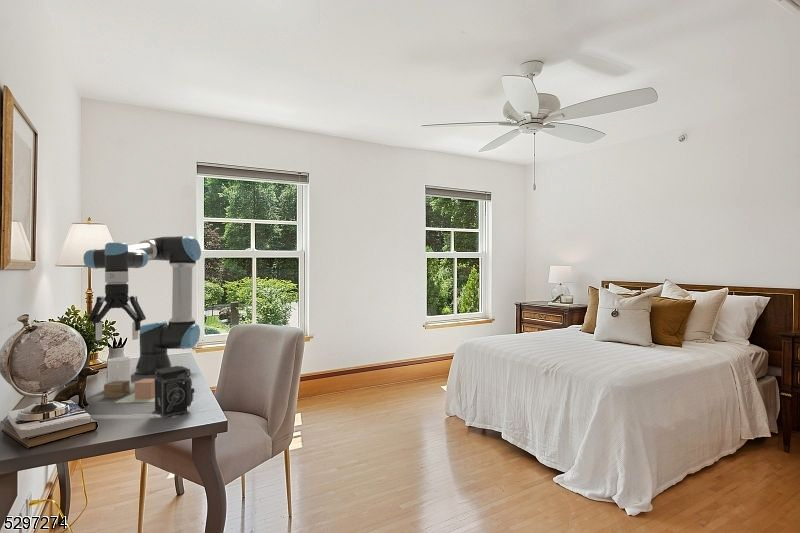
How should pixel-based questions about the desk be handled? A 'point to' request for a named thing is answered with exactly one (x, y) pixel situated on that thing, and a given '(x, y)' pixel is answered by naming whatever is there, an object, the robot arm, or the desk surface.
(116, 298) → the robot arm
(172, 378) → the camera
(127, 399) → the build board
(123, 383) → the walnut brick
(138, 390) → the terracotta brick
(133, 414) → the desk surface
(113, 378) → the white rectangular block
